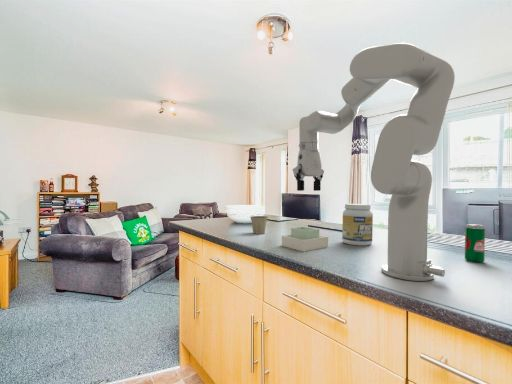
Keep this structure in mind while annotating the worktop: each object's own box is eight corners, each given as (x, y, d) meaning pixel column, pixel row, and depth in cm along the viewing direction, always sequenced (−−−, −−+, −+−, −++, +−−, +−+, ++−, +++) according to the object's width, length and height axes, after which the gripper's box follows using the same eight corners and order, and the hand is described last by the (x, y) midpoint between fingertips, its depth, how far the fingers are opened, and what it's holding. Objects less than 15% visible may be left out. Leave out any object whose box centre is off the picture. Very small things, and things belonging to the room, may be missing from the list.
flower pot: (247, 232, 141) (247, 216, 141) (263, 231, 145) (263, 215, 145) (254, 235, 132) (254, 218, 132) (271, 234, 136) (271, 217, 136)
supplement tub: (356, 247, 107) (356, 205, 107) (336, 241, 119) (336, 203, 118) (378, 245, 112) (379, 204, 112) (357, 239, 123) (358, 203, 123)
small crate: (319, 246, 107) (319, 229, 107) (307, 248, 103) (307, 230, 103) (302, 242, 114) (302, 226, 114) (290, 244, 110) (291, 227, 110)
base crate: (328, 247, 108) (328, 236, 108) (303, 252, 100) (303, 240, 100) (305, 242, 118) (305, 232, 118) (281, 246, 109) (281, 235, 109)
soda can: (476, 263, 84) (477, 226, 84) (460, 259, 89) (461, 224, 89) (488, 262, 86) (489, 225, 85) (472, 258, 90) (472, 223, 90)
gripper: (300, 144, 99) (300, 190, 99) (330, 149, 110) (330, 190, 110) (286, 147, 105) (287, 190, 105) (315, 151, 116) (316, 190, 116)
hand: (309, 190), depth 107 cm, fingers open, 9 cm apart
